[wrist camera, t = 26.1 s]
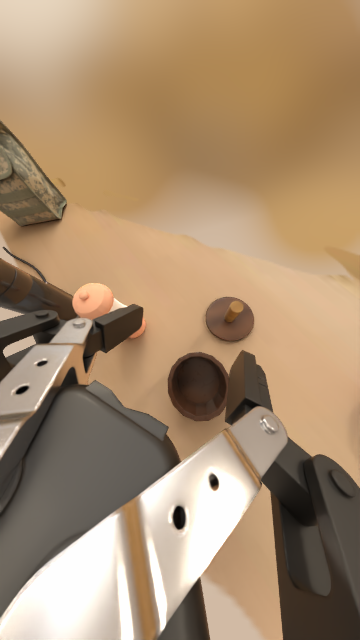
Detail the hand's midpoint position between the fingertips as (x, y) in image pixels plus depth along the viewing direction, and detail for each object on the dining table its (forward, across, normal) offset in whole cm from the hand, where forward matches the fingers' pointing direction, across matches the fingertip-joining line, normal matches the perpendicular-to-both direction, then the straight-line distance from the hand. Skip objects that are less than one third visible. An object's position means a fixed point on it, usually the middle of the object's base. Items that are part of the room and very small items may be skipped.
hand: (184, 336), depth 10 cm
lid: (+28, -5, +9) cm, 29 cm away
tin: (+15, -3, +22) cm, 27 cm away
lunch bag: (+40, +91, -2) cm, 99 cm away
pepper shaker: (+19, +19, +18) cm, 33 cm away
